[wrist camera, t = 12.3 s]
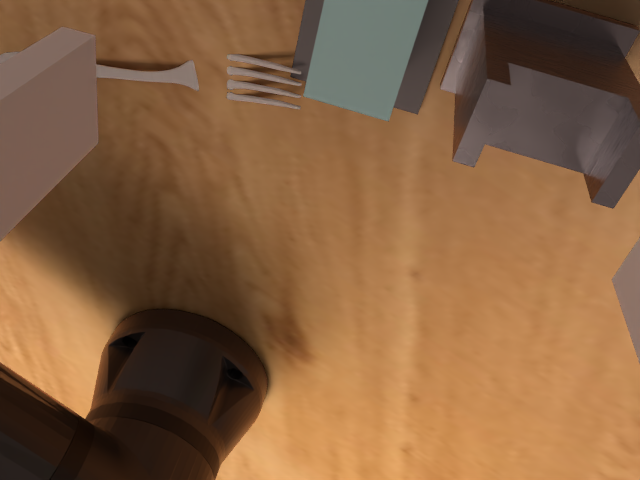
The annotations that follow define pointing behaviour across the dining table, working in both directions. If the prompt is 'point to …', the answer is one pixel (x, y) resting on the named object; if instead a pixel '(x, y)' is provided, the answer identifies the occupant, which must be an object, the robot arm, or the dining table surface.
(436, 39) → the mat
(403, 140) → the dining table surface
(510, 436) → the dining table surface
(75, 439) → the robot arm
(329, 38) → the rail
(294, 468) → the dining table surface
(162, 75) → the fork
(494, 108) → the stand
